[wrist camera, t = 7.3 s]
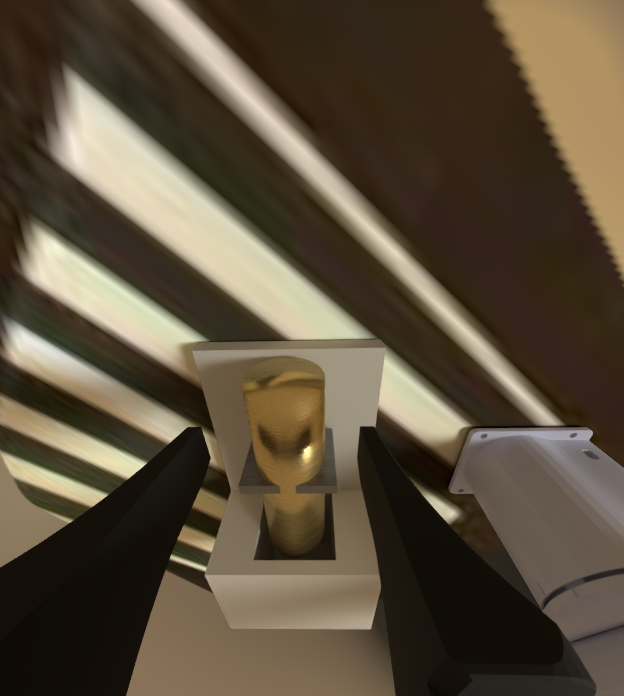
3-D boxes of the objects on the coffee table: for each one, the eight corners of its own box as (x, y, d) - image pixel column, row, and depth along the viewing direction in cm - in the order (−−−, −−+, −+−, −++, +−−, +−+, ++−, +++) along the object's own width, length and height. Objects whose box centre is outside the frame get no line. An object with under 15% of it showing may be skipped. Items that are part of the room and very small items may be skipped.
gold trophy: (333, 356, 15) (340, 404, 11) (330, 496, 21) (334, 557, 17) (242, 357, 15) (216, 405, 11) (266, 496, 21) (256, 557, 17)
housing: (380, 339, 16) (423, 413, 10) (357, 534, 27) (370, 629, 21) (199, 342, 16) (127, 417, 10) (250, 535, 27) (230, 628, 21)
